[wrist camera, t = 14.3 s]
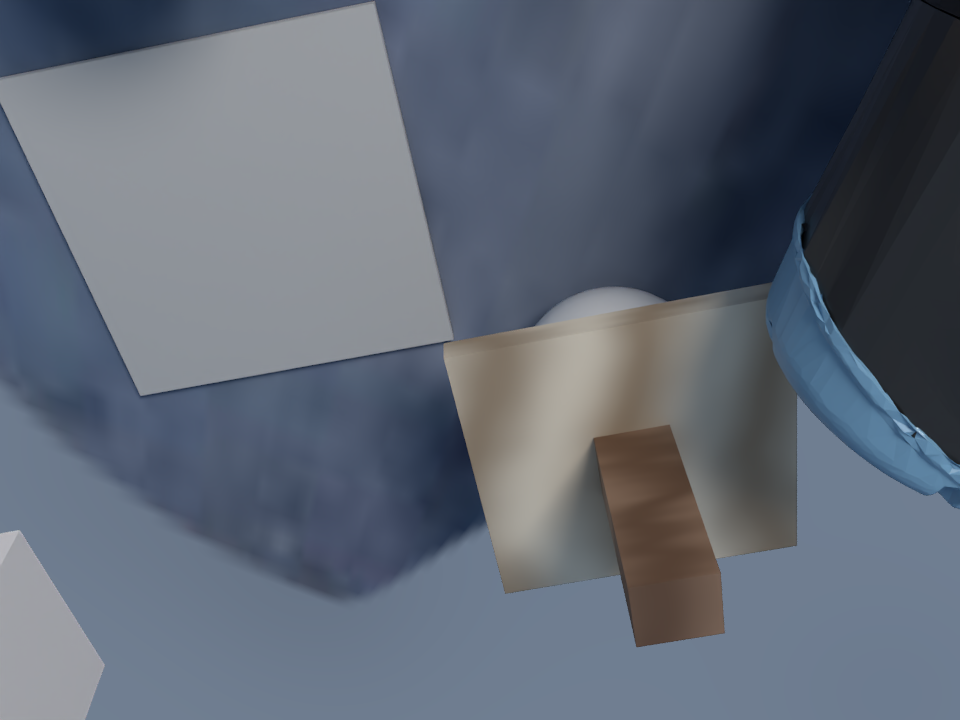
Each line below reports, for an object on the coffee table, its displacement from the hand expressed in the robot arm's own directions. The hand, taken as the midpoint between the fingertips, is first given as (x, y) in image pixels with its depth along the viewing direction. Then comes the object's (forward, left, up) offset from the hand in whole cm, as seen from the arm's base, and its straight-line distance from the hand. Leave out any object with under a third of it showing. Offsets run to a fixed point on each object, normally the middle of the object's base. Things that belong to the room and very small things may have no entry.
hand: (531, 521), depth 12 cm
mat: (+13, +9, -35) cm, 38 cm away
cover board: (-4, +20, -25) cm, 33 cm away
